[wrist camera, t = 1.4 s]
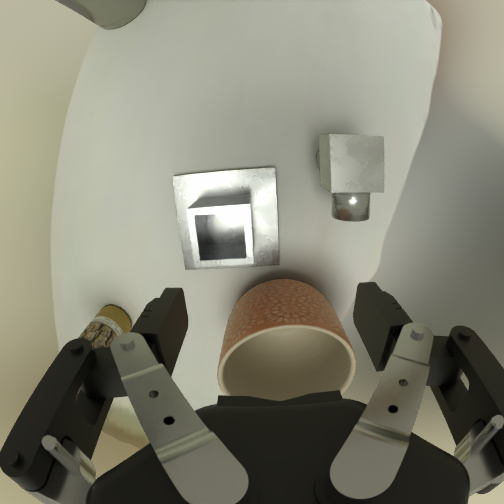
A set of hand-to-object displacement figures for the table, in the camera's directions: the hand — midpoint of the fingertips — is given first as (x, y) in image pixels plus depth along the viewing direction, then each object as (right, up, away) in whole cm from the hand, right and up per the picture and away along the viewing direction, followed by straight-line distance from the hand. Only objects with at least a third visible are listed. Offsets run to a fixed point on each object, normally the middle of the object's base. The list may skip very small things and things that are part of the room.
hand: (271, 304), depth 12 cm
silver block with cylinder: (+10, +14, +24) cm, 30 cm away
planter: (+4, -7, +33) cm, 34 cm away
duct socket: (-4, +7, +27) cm, 28 cm away
